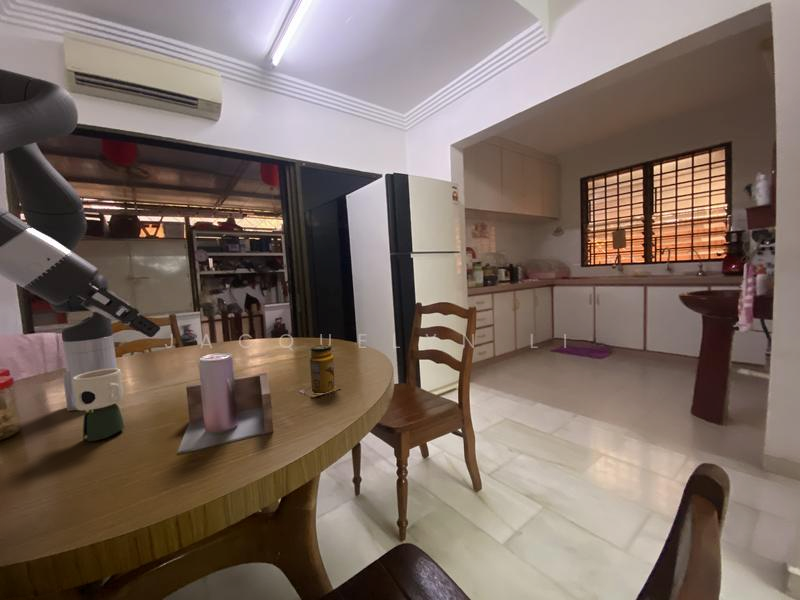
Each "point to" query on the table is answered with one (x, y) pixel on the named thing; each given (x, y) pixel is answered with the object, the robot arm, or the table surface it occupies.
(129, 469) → the table surface
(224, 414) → the beverage can
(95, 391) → the character mug
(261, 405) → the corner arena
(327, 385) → the condiment
